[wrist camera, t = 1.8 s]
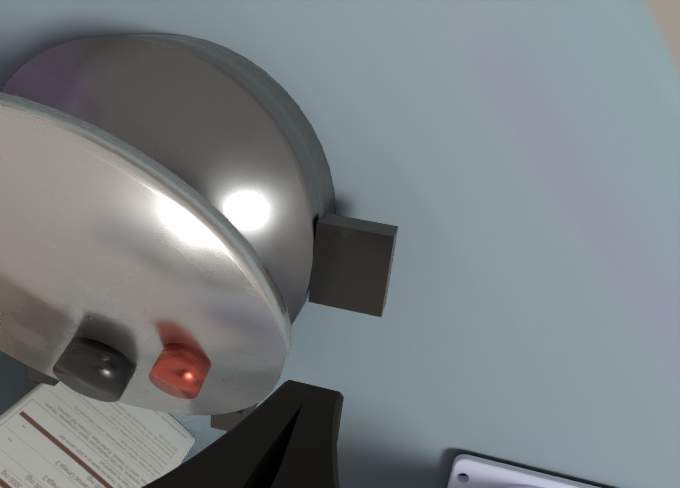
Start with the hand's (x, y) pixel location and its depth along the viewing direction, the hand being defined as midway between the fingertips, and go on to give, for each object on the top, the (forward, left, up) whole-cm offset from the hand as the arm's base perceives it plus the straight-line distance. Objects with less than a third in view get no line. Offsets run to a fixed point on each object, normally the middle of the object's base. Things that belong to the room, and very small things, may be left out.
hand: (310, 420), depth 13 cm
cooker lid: (0, +8, -3) cm, 9 cm away
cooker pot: (+1, +8, -10) cm, 13 cm away
